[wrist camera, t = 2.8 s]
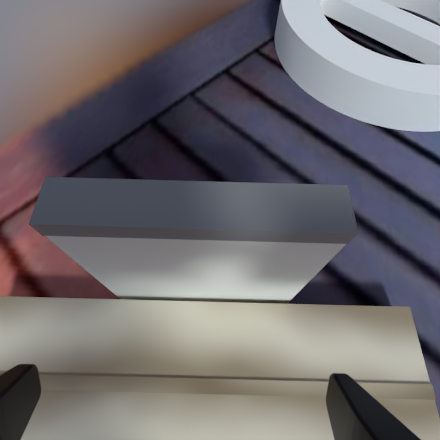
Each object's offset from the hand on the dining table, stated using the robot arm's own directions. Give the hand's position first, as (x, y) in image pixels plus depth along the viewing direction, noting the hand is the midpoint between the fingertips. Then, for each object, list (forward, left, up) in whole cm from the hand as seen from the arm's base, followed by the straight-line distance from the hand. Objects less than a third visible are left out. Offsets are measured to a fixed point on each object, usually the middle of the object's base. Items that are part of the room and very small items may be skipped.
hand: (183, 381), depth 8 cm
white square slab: (+4, +4, -13) cm, 15 cm away
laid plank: (0, 0, -14) cm, 14 cm away
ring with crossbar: (+41, +11, -14) cm, 45 cm away
